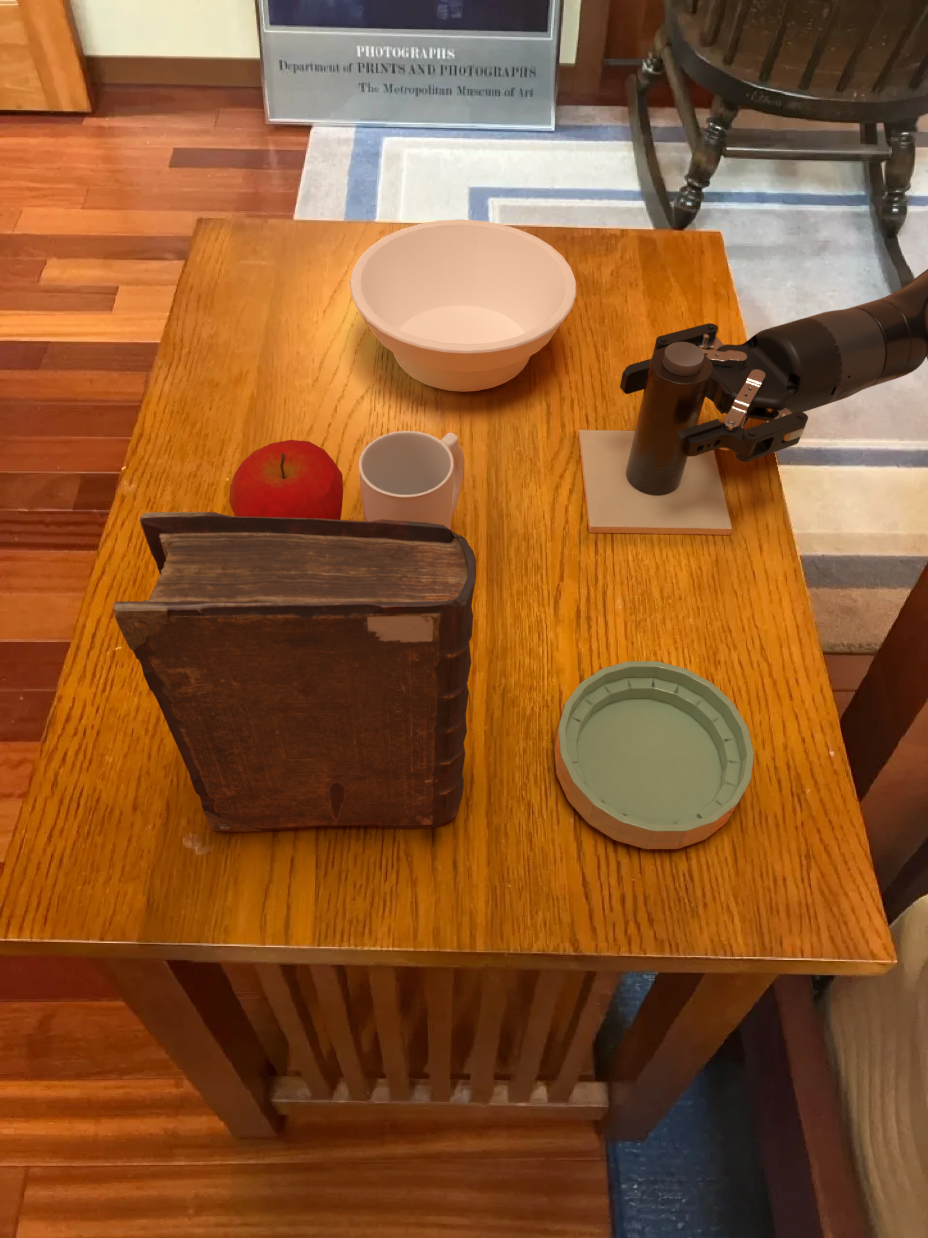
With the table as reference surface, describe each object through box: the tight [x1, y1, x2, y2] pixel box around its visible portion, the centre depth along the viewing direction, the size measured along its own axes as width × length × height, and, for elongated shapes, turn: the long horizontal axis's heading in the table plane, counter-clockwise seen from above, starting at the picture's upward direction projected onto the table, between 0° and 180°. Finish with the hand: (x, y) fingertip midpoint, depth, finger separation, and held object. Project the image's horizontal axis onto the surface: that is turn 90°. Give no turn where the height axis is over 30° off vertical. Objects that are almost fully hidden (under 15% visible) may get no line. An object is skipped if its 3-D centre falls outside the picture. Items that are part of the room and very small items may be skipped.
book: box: [113, 511, 477, 833], centre depth 53 cm, size 17×7×25 cm, turn 85°
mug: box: [358, 430, 465, 531], centre depth 71 cm, size 10×7×12 cm, turn 142°
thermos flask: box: [626, 342, 713, 495], centre depth 76 cm, size 5×5×13 cm
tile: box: [577, 429, 733, 536], centre depth 82 cm, size 12×12×1 cm
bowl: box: [349, 219, 577, 392], centre depth 89 cm, size 21×21×8 cm
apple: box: [228, 439, 344, 520], centre depth 71 cm, size 9×8×12 cm
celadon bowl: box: [553, 660, 755, 850], centre depth 64 cm, size 13×13×4 cm
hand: (649, 412), depth 75 cm, fingers open, 7 cm apart
